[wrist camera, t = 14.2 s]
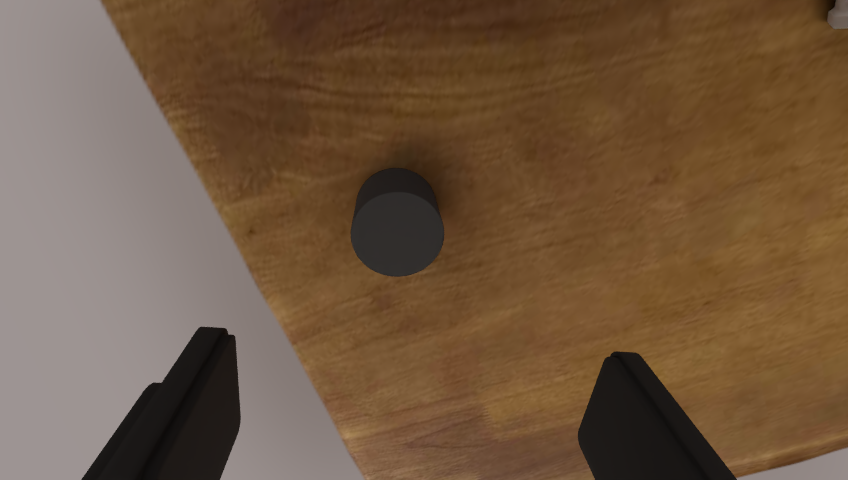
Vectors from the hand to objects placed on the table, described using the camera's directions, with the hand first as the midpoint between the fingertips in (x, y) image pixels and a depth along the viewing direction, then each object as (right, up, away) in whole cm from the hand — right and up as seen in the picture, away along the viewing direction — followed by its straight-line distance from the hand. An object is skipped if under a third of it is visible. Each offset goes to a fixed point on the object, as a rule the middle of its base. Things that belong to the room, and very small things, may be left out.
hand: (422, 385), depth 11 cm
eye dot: (-1, +5, +13) cm, 14 cm away
